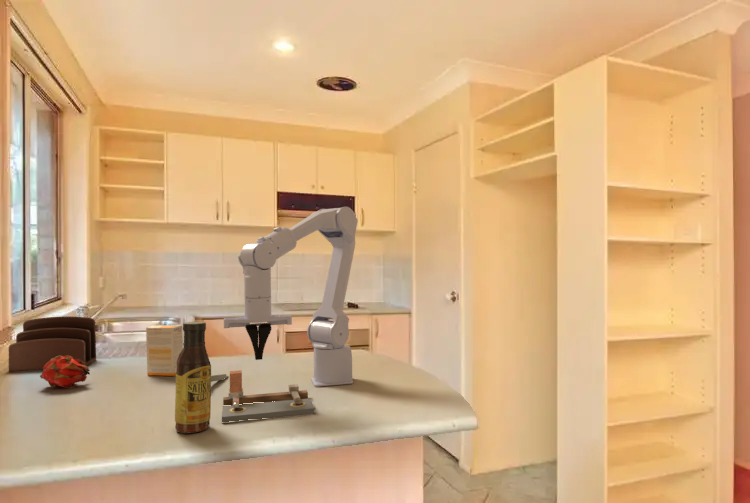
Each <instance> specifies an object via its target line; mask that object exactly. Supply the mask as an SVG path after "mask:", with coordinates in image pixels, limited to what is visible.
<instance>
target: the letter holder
mask: <svg viewBox="0 0 750 503" xmlns="http://www.w3.org/2000/svg"><path fill="white" fill-rule="evenodd" d="M22 330H23V331H20V332H17V334H16V336H15V337H16V338H15V342H13V343H10V345H9V346H8V371H9V372H14V371H15V372H16V371H18V372H19V371H34V370H35V371H36V370H44V369H43V367H44V366H45V364H46V363H47V362H49V361H50V360H51V359H52V358H55V357H56V356H59V355H61V356H63V357H64V356H66V355H69V356H71V357H73V359H80V360H81V361H83V362H84V365H85V366H87V367H88V366H89V365H90V364H92V363H94V362H95V361H96V360H97V341H96V340H97V339H96V338H97V337H96V320H95V319H94V318H93V317H84V316H68V315H67V316H64V315H63V316H50V317H49V316H48V317H39V318H38V317H37V318H34V319H33V318H32V319H27V320H24V321H23V324H22ZM81 365H82V364H81Z"/></svg>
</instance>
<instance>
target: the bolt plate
mask: <svg viewBox="0 0 750 503" xmlns="http://www.w3.org/2000/svg"><path fill="white" fill-rule="evenodd" d="M221 411H222V412H221V423H222V422H229V421H239V420H248V419H260V420H263V419H262V418H271V419H277V418H278V419H279V418H289V417H299V416H311V415H315V414H316V407H315V405H314V404H313V401H312V400H311V398H309V397H308V399H301V404H295V402H294V400H286V401H275V402H264V403H253V404H242V405H239V408H237V409H234V408H233V405H231V406H222V410H221Z"/></svg>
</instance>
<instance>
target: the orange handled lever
mask: <svg viewBox="0 0 750 503" xmlns="http://www.w3.org/2000/svg"><path fill="white" fill-rule="evenodd" d="M243 396H244V387H243V372H242V369H241V370H229V389H228V397H229V399H232V398H233V408H234V409H237V408H239V398H243Z"/></svg>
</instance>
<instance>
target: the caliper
mask: <svg viewBox="0 0 750 503" xmlns="http://www.w3.org/2000/svg"><path fill="white" fill-rule="evenodd" d="M224 378H226V379H227V378H229V375H227V373H218V374H211V383H212V382H217V381H218V382H219V381H223V380H222V379H224ZM224 380H225V379H224Z"/></svg>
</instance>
